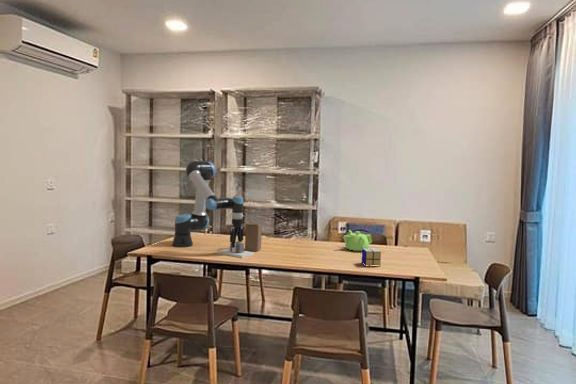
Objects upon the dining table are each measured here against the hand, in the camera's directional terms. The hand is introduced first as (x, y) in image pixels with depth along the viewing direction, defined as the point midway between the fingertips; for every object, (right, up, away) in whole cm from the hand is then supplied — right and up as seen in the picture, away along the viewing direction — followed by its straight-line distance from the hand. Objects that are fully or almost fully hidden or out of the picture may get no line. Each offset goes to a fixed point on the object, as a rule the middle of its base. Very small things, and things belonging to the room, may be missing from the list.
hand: (236, 251), depth 304 cm
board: (-1, -2, +1) cm, 2 cm away
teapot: (+89, -3, +33) cm, 95 cm away
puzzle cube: (+91, -7, -18) cm, 93 cm away
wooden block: (+10, -2, +16) cm, 19 cm away
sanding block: (0, 0, 0) cm, 1 cm away
